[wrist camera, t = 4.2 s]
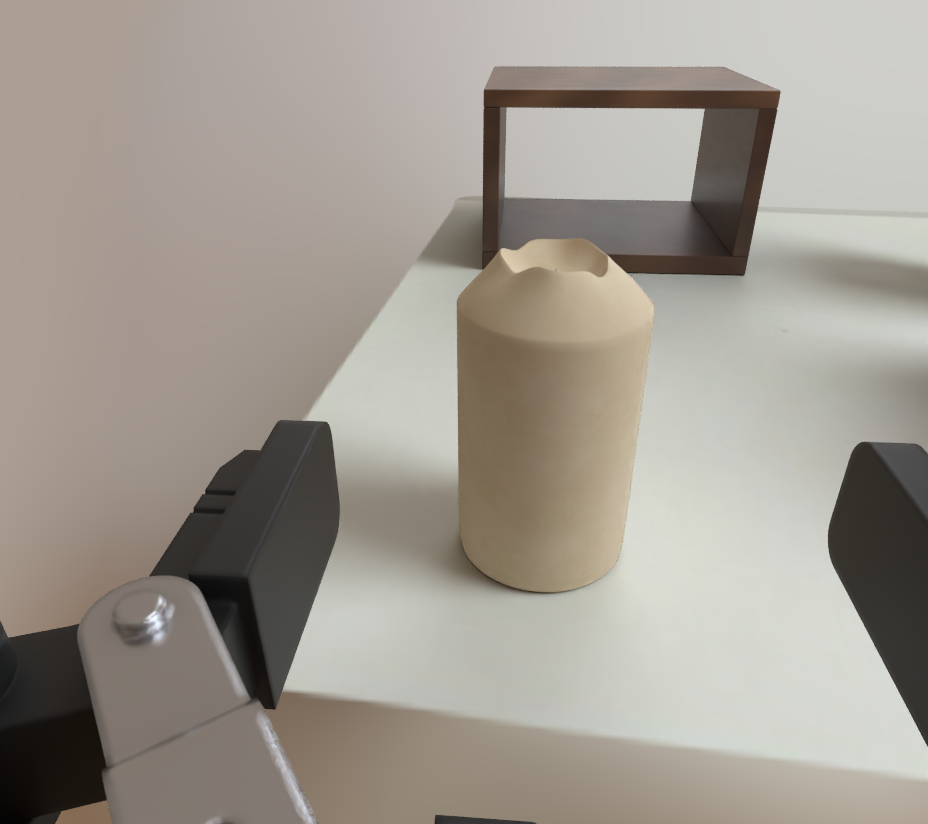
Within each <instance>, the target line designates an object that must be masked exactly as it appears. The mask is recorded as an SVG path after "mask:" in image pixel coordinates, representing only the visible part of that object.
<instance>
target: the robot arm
mask: <svg viewBox="0 0 928 824" xmlns="http://www.w3.org/2000/svg"><path fill="white" fill-rule="evenodd" d="M205 492H206V493H205V495H204V494H203V495H202V496H201V498H200V499H199V501H198V502H197V504H196V505H195V507H194V512H193V513H190V515H189V516H188V517H187V519H186V521H185V522H184V524H183V525H182V527H181V528H180V530H179V531H178V533H177V535H176V536H175V537H174V539H173V541H172V542H171V544H170V545H169V547H168V548H167V550H166V551H165V553H164V554H163V556H162V557H161V559H160V561H159V562H158V564H157V565H156V567H155V568H154V570H153V571H152V573H151V574H150V576H149V577H145V578H141V579H138V580H134V581H131V582H128V583H126V584H124V585H121V586H119V587H117V588H115V589H114V590H112V591H110V592H108V593H107V594H105V595H104V596H103V597H101V598H100V599H99V600H98V601H96V602H95V603H94V604H93V605H92V606H91V607H90V609H89V610H88V611H87V612H86V613H85V615H84V617H83V618H82V620H81V622H80V624H77V625H73V626H68V627H63V628H58V629H52V630H48V631H42V632H37V633H31V634H26V635H21V636H16V637H10V638H8V637H7V634H6V632H5V630H4V628H3V626H2V624H1V622H0V824H55V822H56V821H57V819H58V817H59V815H60V813H61V811H63V810H68V809H72V808H76V807H80V806H84V805H88V804H92V803H97V802H101V801H105V800H107V802H108V806H109V811H110V816H111V820H112V824H318V821H317V819H316V817H315V815H314V813H313V811H312V809H311V807H310V804H309V802H308V800H307V798H306V796H305V794H304V792H303V789H302V787H301V785H300V783H299V781H298V779H297V777H296V775H295V773H294V771H293V768H292V766H291V764H290V762H289V760H288V758H287V756H286V754H285V751H284V749H283V747H282V745H281V743H280V741H279V739H278V737H277V735H276V733H275V730H274V728H273V726H272V724H271V722H270V720H269V718H268V716H267V714H266V711H265V709H276V706H277V704H278V701H279V698H280V695H281V692H282V690H283V687H284V684H285V681H286V678H287V675H288V673H289V670H290V667H291V664H292V661H293V659H294V656H295V653H296V650H297V647H298V645H299V642H300V639H301V636H302V633H303V630H304V628H305V625H306V622H307V619H308V616H309V614H310V611H311V608H312V605H313V602H314V600H315V597H316V594H317V591H318V588H319V585H320V583H321V580H322V577H323V574H324V571H325V569H326V566H327V563H328V560H329V557H330V554H331V552H332V549H333V546H334V543H335V540H336V537H337V532H338V526H339V515H340V504H339V494H338V485H337V477H336V468H335V459H334V451H333V442H332V434H331V430H330V426H329V424H328V423H327V422H319V421H290V420H289V421H288V420H280V421H278V422H277V424H276V425H275V427H274V428H273V430H272V432H271V434H270V435H269V437H268V439H267V440H266V442H265V444H264V445H263V447H262V449H261V451H259V450H244V451H243V452H241V453H240V454H239V455H237V456H236V457H234V458H233V459H232V460H230V461H229V462H227V463H226V464H225V465H223V466H222V467H221V468H219V470H218V471H217V473H216V474H215V476H214V478H213V479H212V481H211V482H210V484H209V485H208V487H207V488H206V490H205ZM828 548H829V554H830V558H831V561H832V564H833V566H834V568H835V570H836V572H837V574H838V576H839V578H840V580H841V582H842V584H843V586H844V587H845V589H846V591H847V593H848V595H849V597H850V599H851V601H852V603H853V605H854V607H855V609H856V610H857V612H858V614H859V616H860V618H861V620H862V622H863V624H864V626H865V628H866V630H867V632H868V633H869V635H870V637H871V639H872V641H873V643H874V645H875V647H876V649H877V651H878V653H879V654H880V656H881V658H882V660H883V662H884V664H885V666H886V668H887V670H888V672H889V674H890V676H891V677H892V679H893V681H894V683H895V685H896V687H897V689H898V691H899V693H900V695H901V697H902V698H903V700H904V702H905V704H906V706H907V708H908V710H909V712H910V714H911V716H912V718H913V720H914V721H915V723H916V725H917V727H918V729H919V731H920V733H921V735H922V737H923V739H924V741H925V743H926V744H927V746H928V454H927V453H926V451H925V450H924V449H923V448H922V447H921V446H919V445H917V444H907V443H879V442H861V443H859V444H858V445H857V446H856V447H855V448H854V450H853V452H852V454H851V456H850V459H849V463H848V466H847V469H846V472H845V476H844V479H843V482H842V485H841V488H840V492H839V495H838V498H837V501H836V505H835V508H834V511H833V514H832V517H831V521H830V524H829V530H828ZM435 824H536V823H533V822H523V821H511V820H497V819H484V818H470V817H469V818H468V817H457V816H443V815H436V816H435Z"/></svg>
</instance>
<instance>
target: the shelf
mask: <svg viewBox="0 0 928 824" xmlns="http://www.w3.org/2000/svg"><path fill="white" fill-rule="evenodd" d="M779 97H780V90H778V89H775V88H773V87H770V86H768V85H766V84H763V83H761V82H759V81H756V80H754V79H751V78H749V77H747V76H744V75H742V74H739V73H737V72H735V71H732V70H730V69H728V68H725V67H494V69H493V71H492V73H491V75H490V78H489V80H488V82H487V85H486V87H485V89H484V134H483V135H484V136H483V138H484V141H483V143H484V144H483V253H482V269H485V267H486V266H487V265H488V264H489V263H490V262H491V261H492V260H493V258H494V257H495V256H496V254H497V253H498V252H499V250H500V249H502V248H505V249H509V250H518V249H520V248H521V247H523V246H524V245H525V244H526V243H528V242H529V241H532V240H535V239H571V238H583V239H586V240H588V241H590V242H591V243H593V244H594V245H595V246H596V247H598V248H599V249H600V250H601V251H602V252H604V253H605V254H606V255H608V256H609V257H610V258H611V259H612V260H613V261H614V262H615V263H616V264H617V265H618V266H619V267H620V268H621V269H623V270H624V271H625V272H636V273H683V274H729V275H744V274H745V270H746V265H747V260H748V255H749V250H750V245H751V240H752V235H753V230H754V225H755V220H756V215H757V210H758V204H759V199H760V194H761V189H762V184H763V179H764V174H765V169H766V164H767V159H768V154H769V149H770V144H771V139H772V134H773V129H774V124H775V119H776V114H777V107H778V103H779ZM506 107H532V108H533V107H535V108H536V107H537V108H538V107H539V108H540V107H542V108H547V107H548V108H701V109H703V108H704V109H705V112H704V118H703V126H702V132H701V138H700V145H699V152H698V158H697V164H696V171H695V178H694V184H693V191H692V197H691V201H641V200H635V201H634V200H574V199H506V198H504V187H505V143H506Z"/></svg>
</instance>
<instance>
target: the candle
mask: <svg viewBox="0 0 928 824" xmlns="http://www.w3.org/2000/svg"><path fill="white" fill-rule="evenodd" d="M654 313H655V309H654V305H653V303H652V301H651V300H650V299H649V297H648V296H647V295H646V294H645V292H644V291H643V290H642V289H641V287H640V286H639V285H638V284H637V283H636V282H635V281H634V280H633V279H632V278H631V277H630V276H629V275H628V274H627V273H626V272H625V271H624V270H623V269H621V268H620V267H619V266H618V265H617V264H616V263H615V262H614V261H613V260H612V259H611V258H610V257H609V256H608V255H606V254H605V253H604V252H602V251H601V250H600V249H599V248H598V247H596V246H595V245H594V244H593V243H591V242H590V241H588V240H586V239H583V238H571V239H535V240H532V241H529V242H528V243H526V244H525V245H524V246H523V247H521V248H520V249H518V250H509V249H505V248H502V249H500V250H499V252H498V253H497V254H496V256H495V257H494V258H493V260H492V261H491V262H490V263H489V264H488V265H487V266H486V267H485V269H484V270H483V271H482V272H481V273H480V274H479V275H478V276H477V277H476V278H475V279H474V280H473V281H472V282H471V283H470V284H469V285H468V286H467V287H466V288H465V289H464V291H463V292H462V293H461V294H460V295H459V297H458V300H457V368H458V466H459V525H460V536H461V541H462V545H463V548H464V551H465V553H466V554H467V556H468V558H469V559H470V560H471V562H472V563H473V564H474V565H475V566H476V567H477V568H478V569H479V570H480V571H482V572H483V573H484V574H486V575H487V576H489V577H491V578H492V579H494V580H496V581H498V582H500V583H503V584H505V585H508V586H511V587H514V588H518V589H522V590H527V591H535V592H561V591H567V590H572V589H576V588H580V587H583V586H586V585H588V584H591V583H592V582H594V581H596V580H598V579H600V578H601V577H602V576H604V575H605V574H606V573H607V572H608V571H609V570H610V569H611V568H612V567H613V565H614V564H615V562H616V561H617V558H618V556H619V553H620V551H621V548H622V543H623V538H624V532H625V526H626V519H627V512H628V504H629V497H630V490H631V482H632V475H633V468H634V460H635V453H636V446H637V438H638V431H639V424H640V416H641V409H642V402H643V395H644V387H645V380H646V373H647V365H648V358H649V351H650V343H651V336H652V329H653V321H654Z"/></svg>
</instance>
